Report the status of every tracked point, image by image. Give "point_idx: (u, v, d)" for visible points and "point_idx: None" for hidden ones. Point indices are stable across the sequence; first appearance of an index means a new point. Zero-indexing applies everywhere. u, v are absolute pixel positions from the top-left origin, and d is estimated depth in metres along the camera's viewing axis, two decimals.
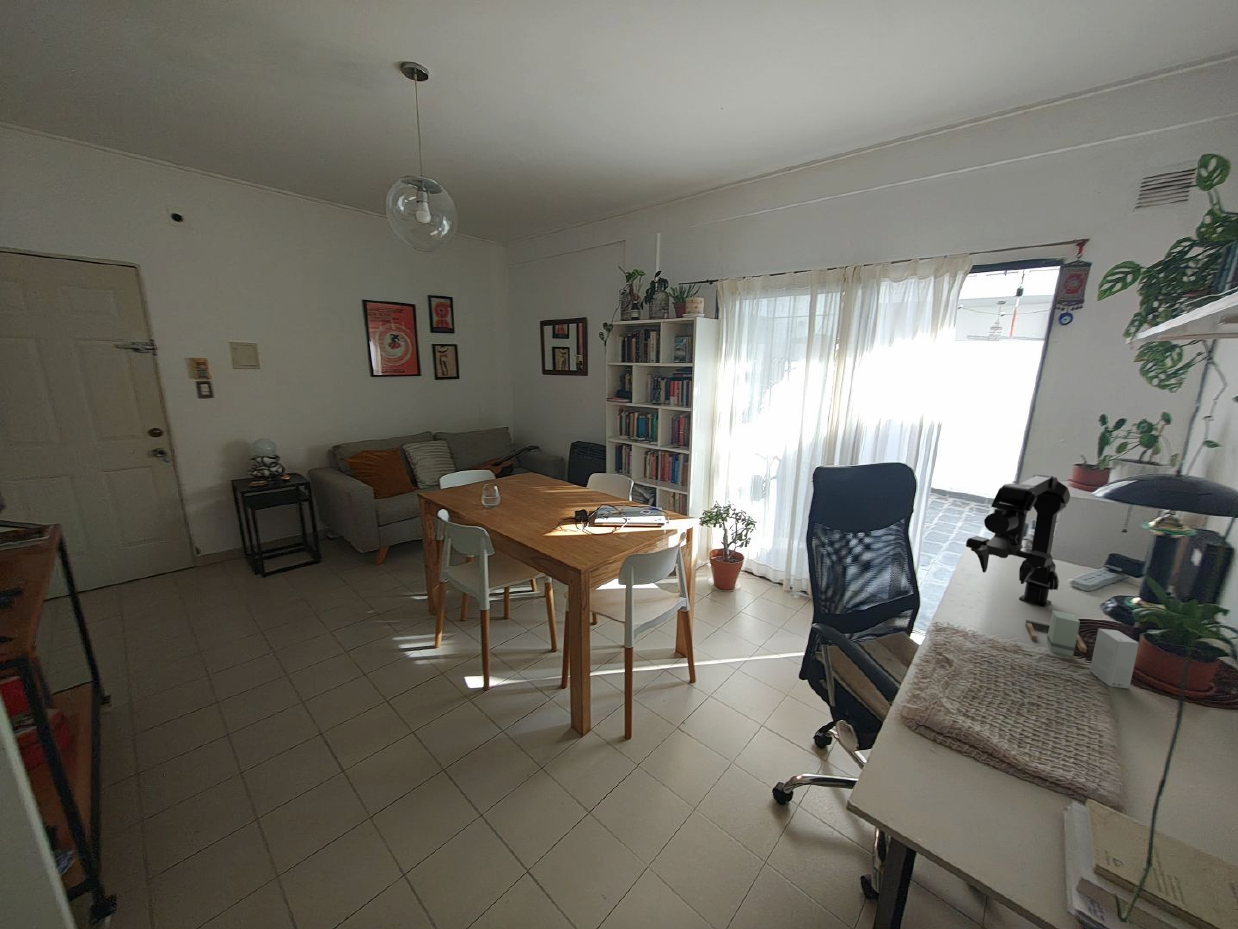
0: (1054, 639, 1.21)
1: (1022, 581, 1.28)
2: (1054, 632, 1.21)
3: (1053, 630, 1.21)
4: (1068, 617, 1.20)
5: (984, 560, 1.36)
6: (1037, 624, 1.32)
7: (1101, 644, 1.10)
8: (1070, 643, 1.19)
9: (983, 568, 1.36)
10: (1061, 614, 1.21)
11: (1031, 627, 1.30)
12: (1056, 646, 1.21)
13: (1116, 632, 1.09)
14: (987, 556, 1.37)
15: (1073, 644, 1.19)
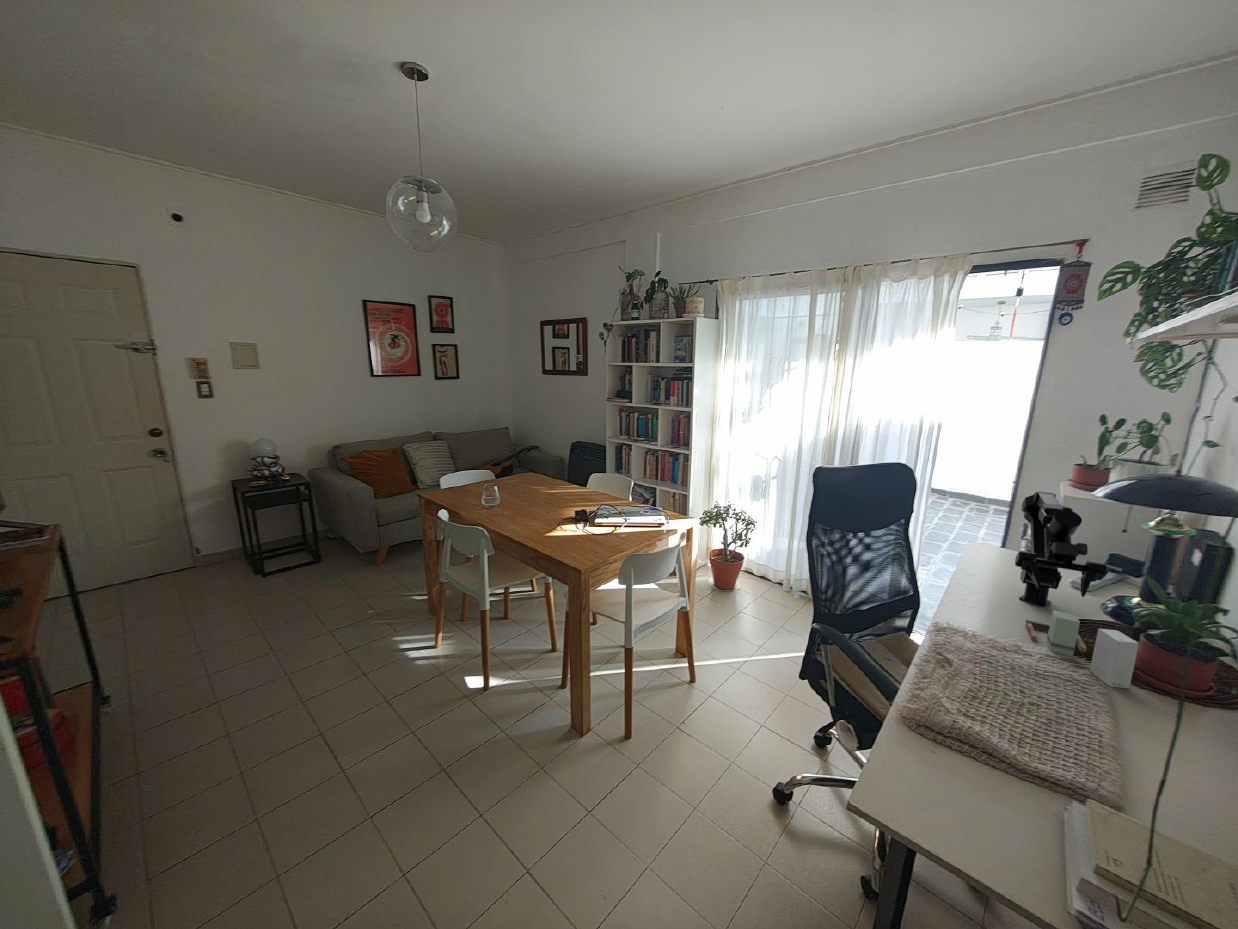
0: (1054, 639, 1.21)
1: (1084, 592, 1.24)
2: (1054, 632, 1.21)
3: (1053, 630, 1.21)
4: (1068, 617, 1.20)
5: None
6: (1037, 624, 1.32)
7: (1101, 644, 1.10)
8: (1070, 643, 1.19)
9: (1039, 582, 1.29)
10: (1061, 614, 1.21)
11: (1031, 627, 1.30)
12: (1056, 646, 1.21)
13: (1116, 632, 1.09)
14: None
15: (1073, 644, 1.19)
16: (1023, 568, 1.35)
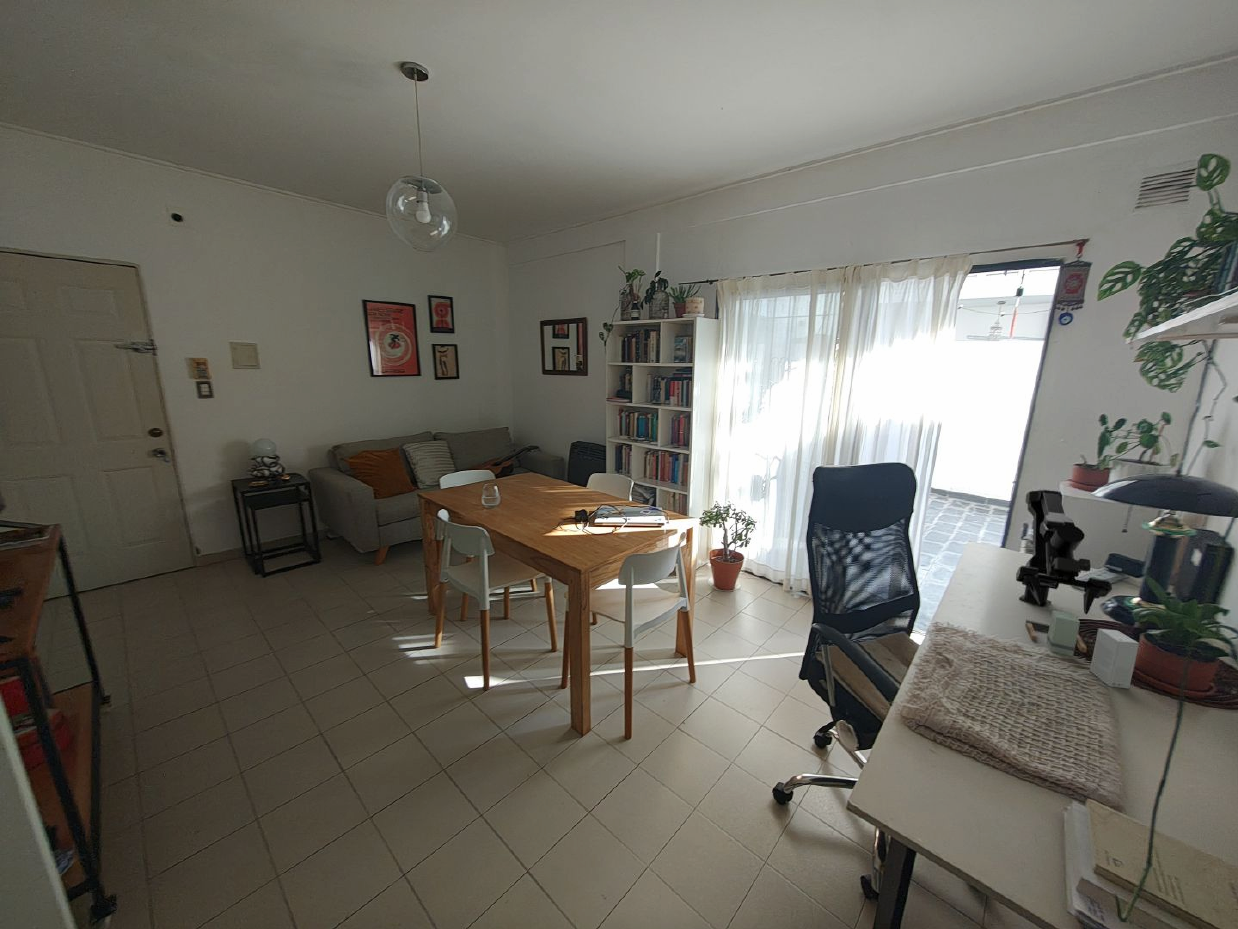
0: (1054, 639, 1.21)
1: (1087, 609, 1.20)
2: (1054, 632, 1.21)
3: (1053, 630, 1.21)
4: (1068, 617, 1.20)
5: None
6: (1037, 624, 1.32)
7: (1101, 644, 1.10)
8: (1070, 643, 1.19)
9: (1040, 598, 1.26)
10: (1061, 614, 1.21)
11: (1031, 627, 1.30)
12: (1056, 646, 1.21)
13: (1116, 632, 1.09)
14: None
15: (1073, 644, 1.19)
16: (1024, 583, 1.31)
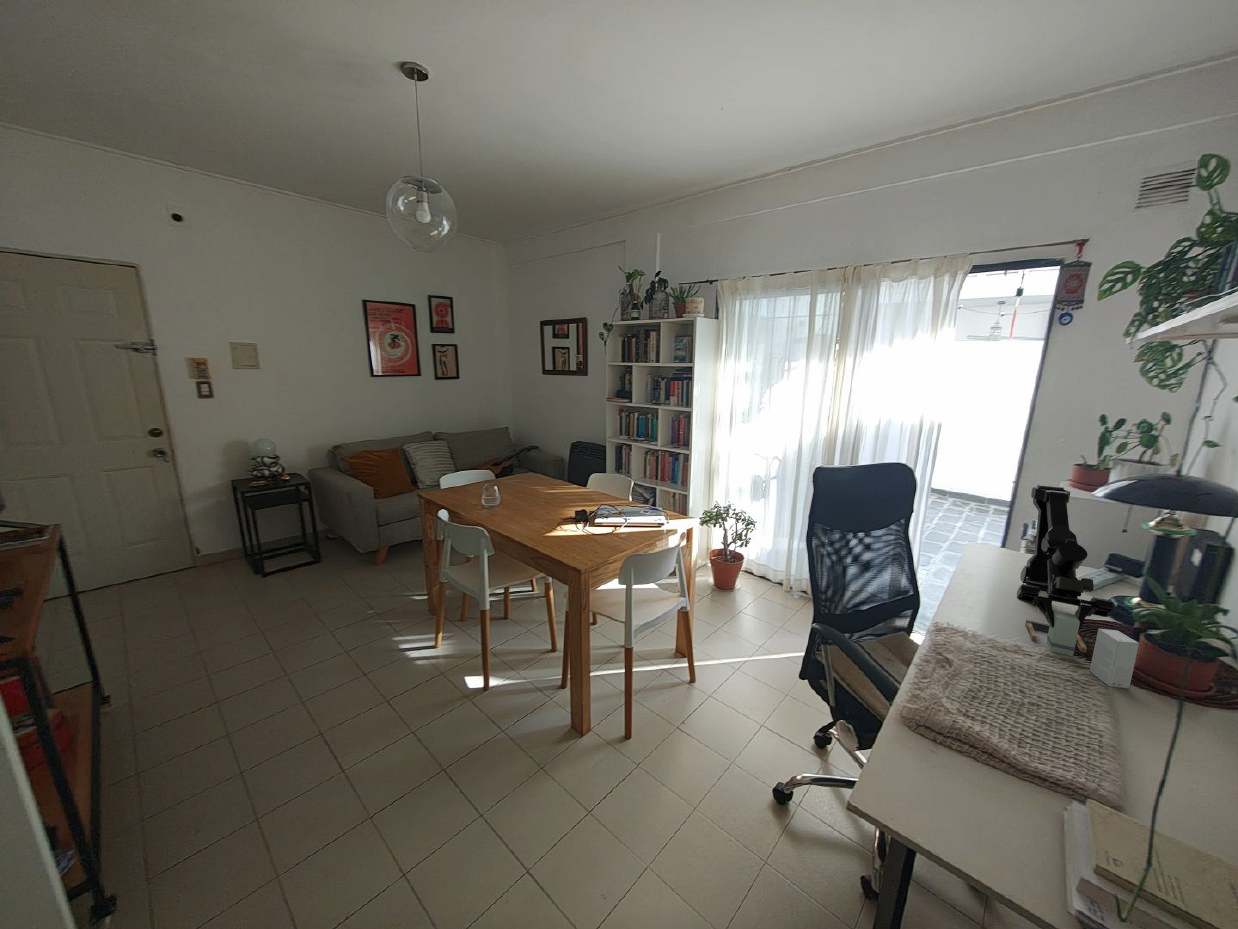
0: (1054, 639, 1.21)
1: (1079, 628, 1.18)
2: (1054, 632, 1.20)
3: (1053, 630, 1.21)
4: (1068, 617, 1.20)
5: None
6: (1037, 624, 1.32)
7: (1101, 644, 1.10)
8: (1070, 643, 1.19)
9: (1053, 621, 1.21)
10: (1061, 614, 1.21)
11: (1031, 627, 1.30)
12: (1056, 645, 1.21)
13: (1116, 632, 1.09)
14: None
15: (1073, 644, 1.19)
16: (1035, 604, 1.27)
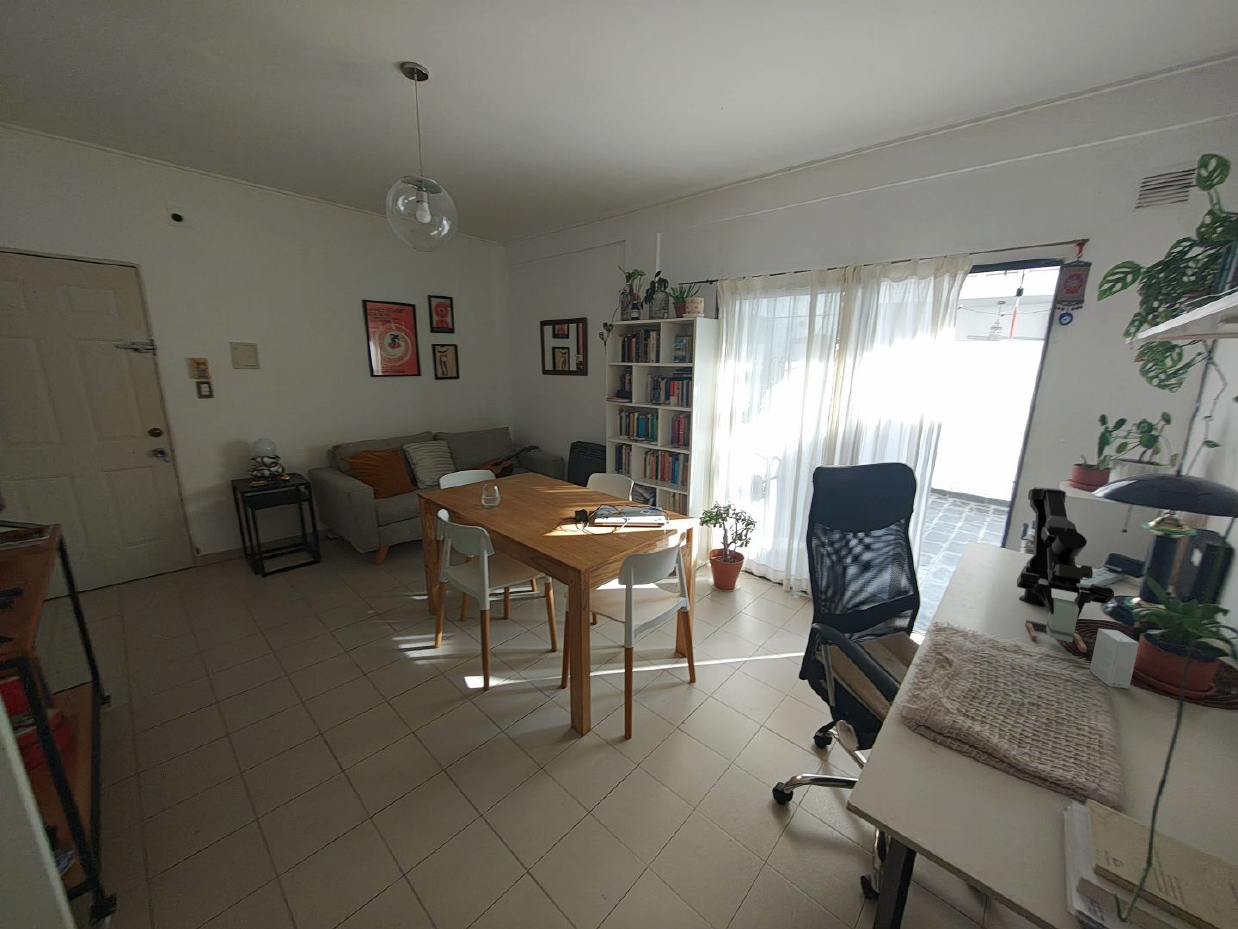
0: (1053, 626, 1.22)
1: (1078, 614, 1.20)
2: (1054, 619, 1.22)
3: (1053, 617, 1.23)
4: (1067, 604, 1.21)
5: None
6: (1037, 624, 1.32)
7: (1101, 644, 1.10)
8: (1069, 630, 1.21)
9: (1052, 608, 1.23)
10: (1060, 601, 1.23)
11: (1031, 627, 1.30)
12: (1055, 632, 1.22)
13: (1116, 632, 1.09)
14: None
15: (1072, 630, 1.20)
16: (1035, 591, 1.29)
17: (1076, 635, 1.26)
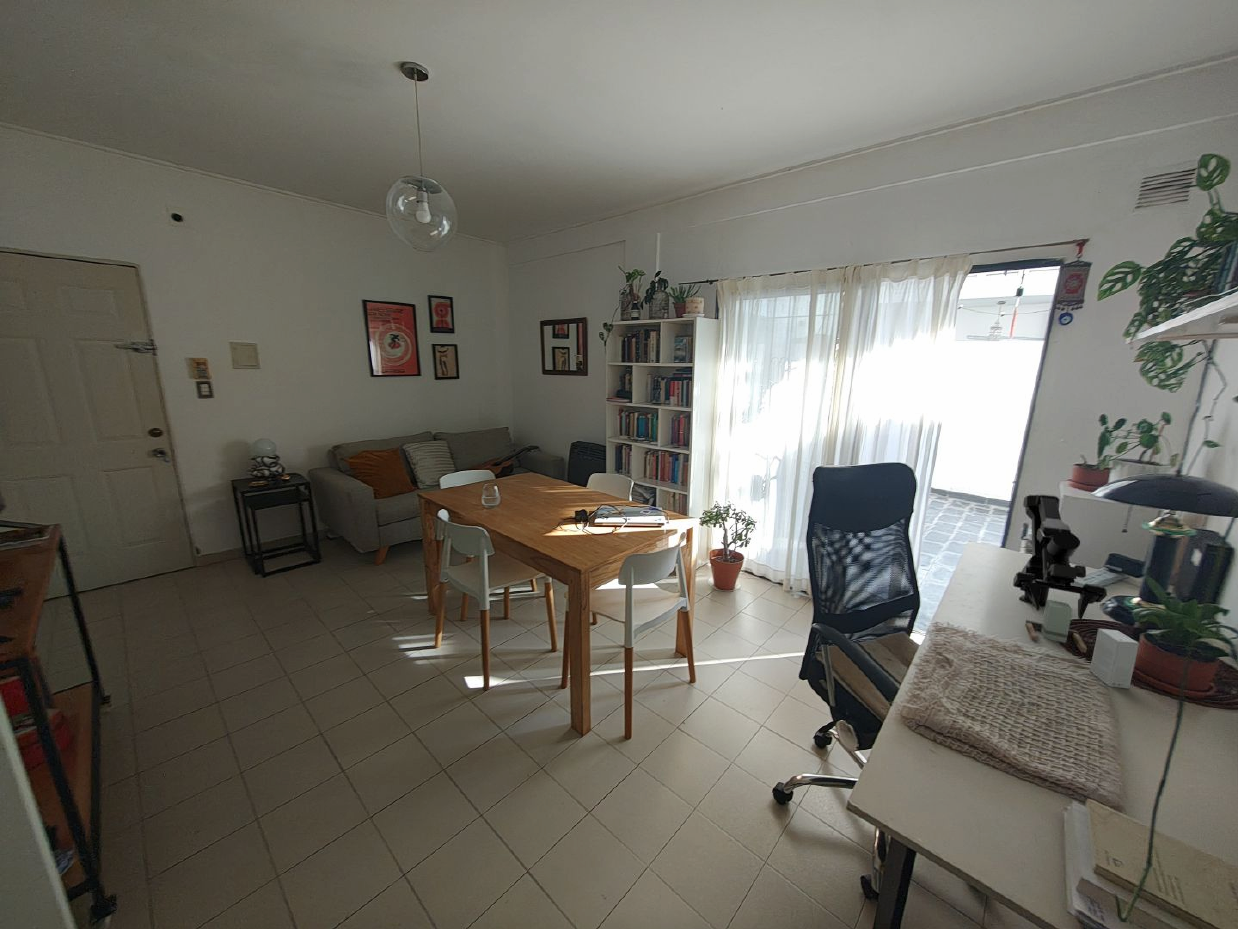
0: (1048, 627, 1.27)
1: (1081, 615, 1.23)
2: (1048, 620, 1.27)
3: (1047, 618, 1.27)
4: (1061, 606, 1.26)
5: None
6: (1037, 624, 1.32)
7: (1101, 644, 1.10)
8: (1063, 631, 1.25)
9: (1038, 604, 1.28)
10: (1054, 603, 1.27)
11: (1031, 627, 1.30)
12: (1049, 633, 1.27)
13: (1116, 632, 1.09)
14: None
15: (1066, 631, 1.25)
16: (1022, 589, 1.34)
17: (1076, 635, 1.26)
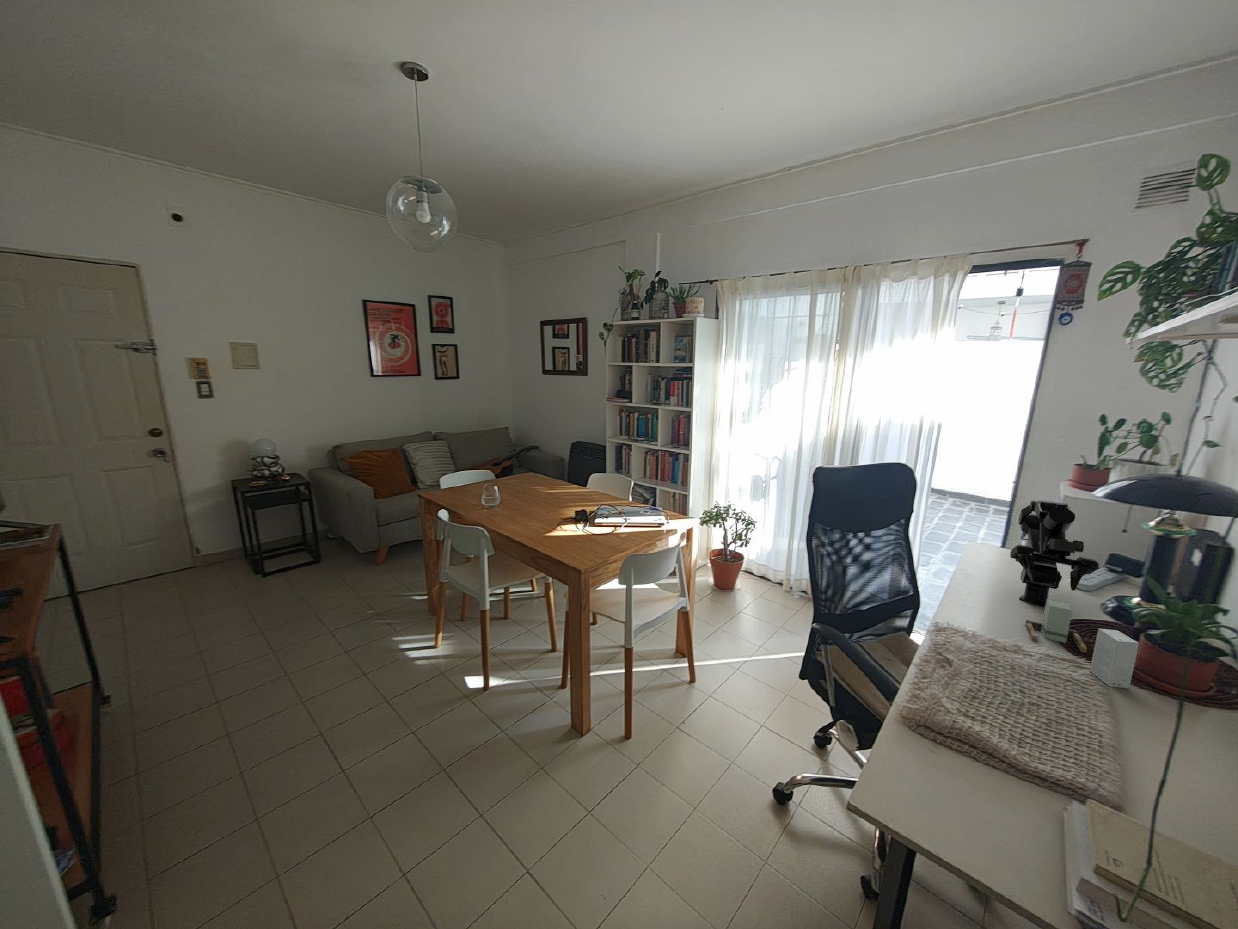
0: (1048, 627, 1.27)
1: (1075, 586, 1.30)
2: (1048, 620, 1.27)
3: (1047, 618, 1.27)
4: (1061, 606, 1.26)
5: None
6: (1037, 624, 1.32)
7: (1101, 644, 1.10)
8: (1063, 631, 1.25)
9: (1033, 575, 1.34)
10: (1054, 603, 1.27)
11: (1031, 627, 1.30)
12: (1049, 633, 1.27)
13: (1116, 632, 1.09)
14: None
15: (1066, 631, 1.25)
16: (1018, 560, 1.40)
17: (1076, 635, 1.26)
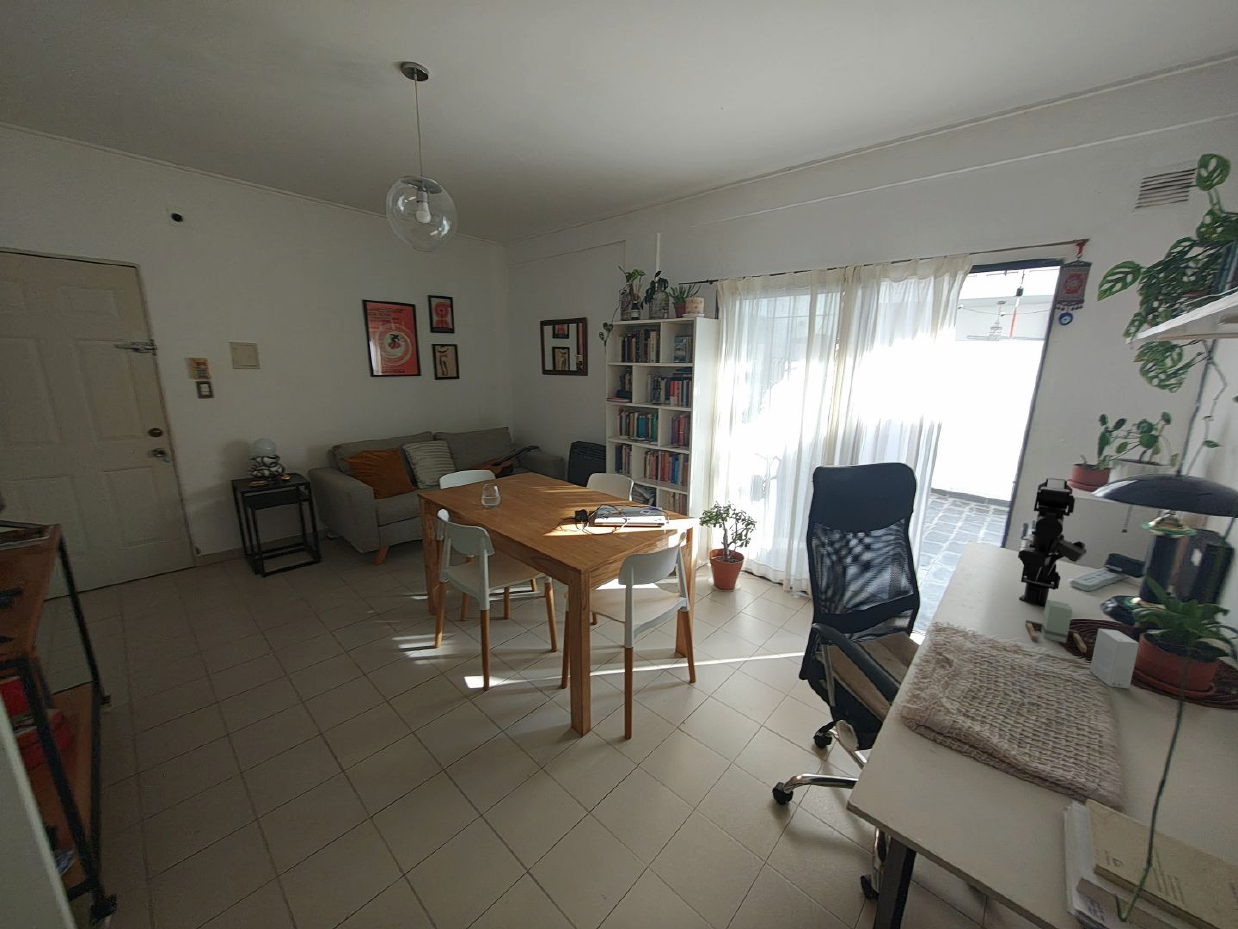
0: (1048, 627, 1.27)
1: (1049, 572, 1.38)
2: (1048, 620, 1.27)
3: (1047, 618, 1.27)
4: (1061, 606, 1.26)
5: None
6: (1037, 624, 1.32)
7: (1101, 644, 1.10)
8: (1063, 631, 1.25)
9: (1036, 578, 1.33)
10: (1054, 603, 1.27)
11: (1031, 627, 1.30)
12: (1049, 633, 1.27)
13: (1116, 632, 1.09)
14: None
15: (1066, 631, 1.25)
16: None
17: (1076, 635, 1.26)
